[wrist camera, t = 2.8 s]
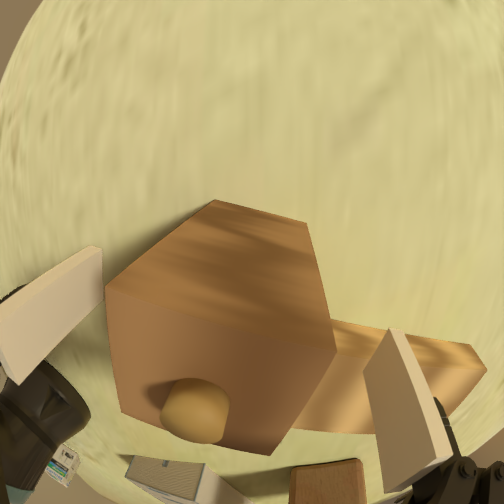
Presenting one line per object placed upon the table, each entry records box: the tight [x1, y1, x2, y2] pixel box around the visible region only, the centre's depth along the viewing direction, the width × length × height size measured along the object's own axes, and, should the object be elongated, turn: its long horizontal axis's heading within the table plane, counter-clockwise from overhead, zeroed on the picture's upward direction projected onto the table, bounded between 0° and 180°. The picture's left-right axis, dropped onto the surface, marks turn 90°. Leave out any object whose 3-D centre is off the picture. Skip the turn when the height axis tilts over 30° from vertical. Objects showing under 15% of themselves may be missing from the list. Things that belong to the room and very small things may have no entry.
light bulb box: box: [45, 444, 80, 488], centre depth 40 cm, size 11×7×11 cm, turn 155°
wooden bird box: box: [105, 200, 337, 456], centre depth 14 cm, size 6×15×13 cm, turn 167°
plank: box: [291, 319, 487, 434], centre depth 19 cm, size 30×9×4 cm, turn 77°
